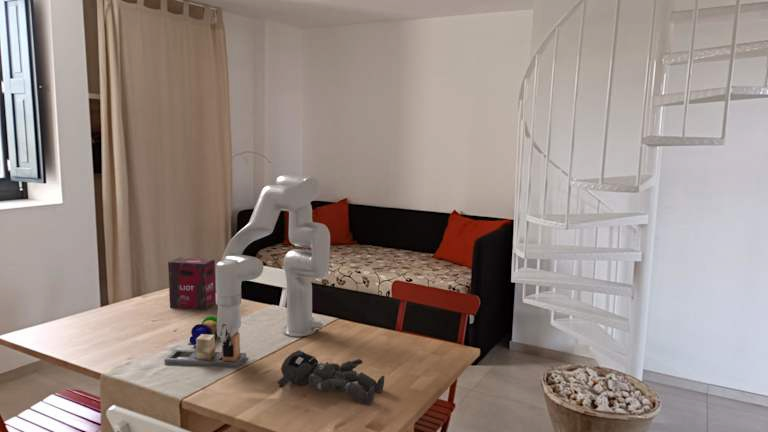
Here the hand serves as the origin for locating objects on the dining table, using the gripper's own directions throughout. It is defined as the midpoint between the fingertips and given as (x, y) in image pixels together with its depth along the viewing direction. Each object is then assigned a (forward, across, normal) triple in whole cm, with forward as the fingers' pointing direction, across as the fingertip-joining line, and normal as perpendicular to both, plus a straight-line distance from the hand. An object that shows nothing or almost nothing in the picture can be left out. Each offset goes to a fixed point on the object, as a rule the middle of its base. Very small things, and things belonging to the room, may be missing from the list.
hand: (231, 352), depth 178 cm
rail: (+4, 0, -8) cm, 9 cm away
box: (+5, -58, -37) cm, 68 cm away
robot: (+5, +14, +35) cm, 38 cm away
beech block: (+3, 0, -8) cm, 9 cm away
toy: (+4, -17, -15) cm, 23 cm away
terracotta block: (+2, 0, 0) cm, 2 cm away
